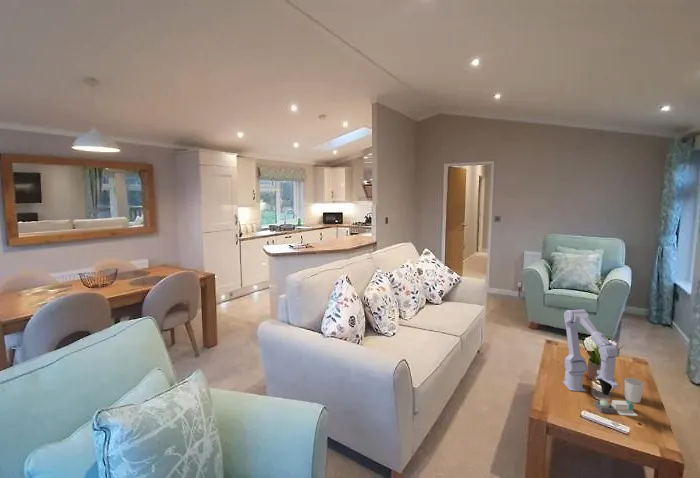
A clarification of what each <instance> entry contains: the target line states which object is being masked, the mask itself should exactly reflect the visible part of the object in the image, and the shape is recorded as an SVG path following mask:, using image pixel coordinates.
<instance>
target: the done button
mask: <svg viewBox="0 0 700 478" xmlns="http://www.w3.org/2000/svg"><path fill="white" fill-rule="evenodd" d="M599 401H600V405H601V406H602V407H607V408H609V407H610V404H611V403H610V401H608V400H606V399H600V400H599Z"/></svg>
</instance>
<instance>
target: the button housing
mask: <svg viewBox="0 0 700 478" xmlns="http://www.w3.org/2000/svg"><path fill="white" fill-rule="evenodd" d="M611 405H612V403H610V407H609V408H607V407H602V406H601V405H600V400H595V401H594V406H595V408H596V409H597V410H598V411H599V412H600V413H601V414H603V413H604V414H605V413H606V414H615V412H616V410H615V409H614V408H613V407H612V406H611Z"/></svg>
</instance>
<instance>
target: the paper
mask: <svg viewBox="0 0 700 478" xmlns="http://www.w3.org/2000/svg"><path fill="white" fill-rule="evenodd" d="M611 406H612V404H611ZM615 412H616V413H617V414H618V415H619V416H631V417H639V416H638V414H637V413H636V412H634V410H633V411H628V410H615Z"/></svg>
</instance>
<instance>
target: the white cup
mask: <svg viewBox="0 0 700 478" xmlns="http://www.w3.org/2000/svg"><path fill="white" fill-rule="evenodd" d="M644 386H645V383H644V382H643V381H642V380H640V379H637V378H633V377H626V378H624V388H623V389H624V392H623V393H624V398H625V401H630V402H631V403H636V404H638V403H639V404H640V403H641V401H642V397H643V393H644V392H643V391H644Z"/></svg>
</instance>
